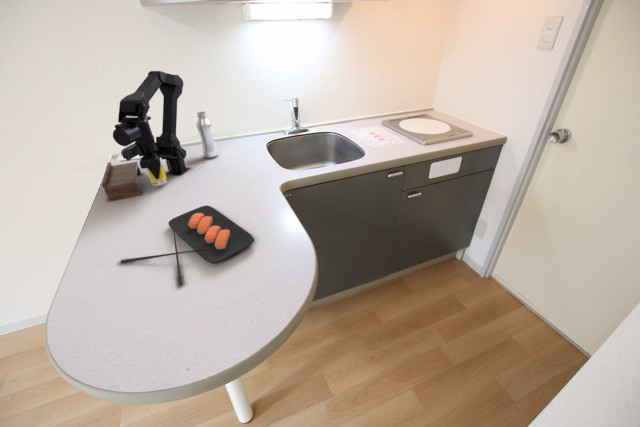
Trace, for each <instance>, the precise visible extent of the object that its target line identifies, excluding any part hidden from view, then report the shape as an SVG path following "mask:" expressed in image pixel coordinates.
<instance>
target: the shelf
mask: <svg viewBox="0 0 640 427" xmlns="http://www.w3.org/2000/svg"><path fill="white" fill-rule="evenodd" d="M142 175H143V174H142V171H141V167H140V164H139V162H138V161H133V162H127V163H126V162H125V163H121V164H114V165H113V164H112V162H111V161H110V162H107V164H106V168H105V171H104V174H103V177H102V181H101V186H102V188H103V190H104V192H105V195H106V197H107V199H108V201H109V202H111V201H116V200H120V199H125V198H131V197H136V196H140V195H141V191H140V189H139V186H138V183H137V180H138V177H139V176H142Z"/></svg>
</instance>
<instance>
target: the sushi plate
mask: <svg viewBox="0 0 640 427" xmlns="http://www.w3.org/2000/svg"><path fill="white" fill-rule="evenodd" d="M168 226H169V227H170V229H171V230H172V232H173V240H174V248H175V252H170V253H163V254H156V255H155V254H154V255H148V256H147V255H146V256H140V257H134V258H127V259H126V258H125V259H121V260H120V263H121V264H124V263H130V262H131V263H132V262H137V261H145V260H149V259H155V258H161V257H169V256H174V255H175V259H176V268H177V278H178V284H179V286H183V280H182V272H181V266H180V260H179V255H180V254H187V253H193V252H196V254H197V255H199V256H200V257H201V258H202V259H203V260H204V261H206V262H208V263H210V264H218V263H220V262H223V261H225V260H227V259H229V258H230V257H232V256H234V255H236V254H238V253H239V252H242V251H243V250H245V249H247V248H249V247H250V246H252V245H253V243H254V242H255V237H254V236H253V235H252V234H251V233H249V232H248V231H247V230H245V229H244V228H242V226H240V225H239V224H237V223H235V222H234V221H233V220H231V218H229V217H227V216H226V215H224V214H223V213H222V212H220V211H219V210H217V208H215V207H212V206H211V205H203V206H199V207H196V208H194V209H192V210H189V211H187V212H185V213H182V214H180V215H178V216H175V217H173V218H172V219H170V220H169V221H168ZM176 235H178V236H179V237H180V238H181V239H182V240H183V241H184V243H186V244H187V245H188V246H189V247H190V248H191V250H185V251H178V246H177V238H176Z"/></svg>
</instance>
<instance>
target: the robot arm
mask: <svg viewBox="0 0 640 427" xmlns="http://www.w3.org/2000/svg"><path fill="white" fill-rule="evenodd" d="M183 88H184V81H183V79H182V77H181V76H180V75H179V74H172V73H167V72H165V71H162V70H150V71H149V72H148V73H147V76H145V78H144V79H143V81H142V82H141V84H139V86H138V87H137V89H136V90H134V92H133V93H130V94H128V95H126V96H124V97H123V98H121V100H120V101H119V108H118V117H117V122H118V123H116V124H115V125H114V128H115V129H114V130H113V132H112V138H113V140H114V141H115V143H117V145H119V146H122V147H125V148H123V149H121V151H120V155H121V156H122V158H123V159H124V160H126V161H127V162H128V161H131V160H132V159H133V158H135V157H137V156H139V157H140V159H139V162H138V165H139V167H140V169H142V170H143V169H146V168H148V169H149V170H150V171H151V173H152V174H153V176H154V177H155V179H159V175H160V166H161V163H162V161H161V160H165V163H166V166H167V170H168V171H167V172H166V174H168V175H175V176H182V174H184V173H185V172H187V171H189V170H190V167H187V165H186V161H185V159H186V157H187V150H186V149H184V148H183V147H182V146H181V141H180V140H179V138H178V136H177V119H178V118H177V117H178V99H179V97H180V96H182V94H183V90H184V89H183ZM158 90H159V91H160V93H161V94H162V97H163V99H162V100H163V101H162V102H163V103H162V125H161V127H162V131H161V134H160V135H159V136H156V137H155V136H154V135H153V132H152V129H151V125H150V123H149V121H150V120H152V117H151V116H149V115H147V114H148V112H149V110H150V108H151V106H150V101H151V100H152V98H153V97H154V96H155V94H156V93H157V91H158Z"/></svg>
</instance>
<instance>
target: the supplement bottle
mask: <svg viewBox="0 0 640 427" xmlns="http://www.w3.org/2000/svg"><path fill="white" fill-rule="evenodd" d="M145 169H146V172H147V175H148V177H149V180H150V183H151V185H152V186H155V187H156V186H157V187H159V186H163V185H165V184H167V183H168V178H167V175H166V172H165V168H164V166H163V163H162V162H161V166H160V175H159V179H155V177H154V176H153V174H152V173H151V171H150V170H149V169H148V168H145Z"/></svg>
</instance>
